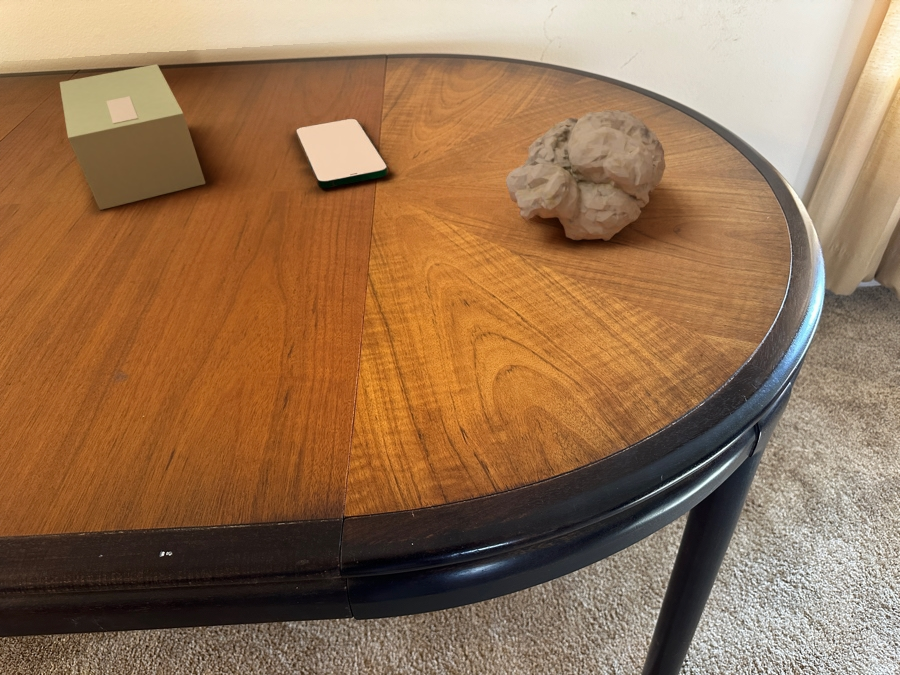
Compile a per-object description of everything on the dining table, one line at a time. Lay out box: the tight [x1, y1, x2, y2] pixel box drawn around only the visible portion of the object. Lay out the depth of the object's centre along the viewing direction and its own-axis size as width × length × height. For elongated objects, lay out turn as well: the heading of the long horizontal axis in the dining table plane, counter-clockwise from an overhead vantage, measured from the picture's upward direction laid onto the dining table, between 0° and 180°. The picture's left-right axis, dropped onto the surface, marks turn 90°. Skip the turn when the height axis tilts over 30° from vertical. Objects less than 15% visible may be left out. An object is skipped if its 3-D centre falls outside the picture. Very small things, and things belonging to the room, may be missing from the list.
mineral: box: [505, 109, 666, 242], centre depth 61 cm, size 12×17×10 cm
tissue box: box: [59, 64, 206, 211], centre depth 74 cm, size 18×11×8 cm, turn 27°
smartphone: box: [295, 118, 389, 189], centre depth 75 cm, size 8×1×16 cm
